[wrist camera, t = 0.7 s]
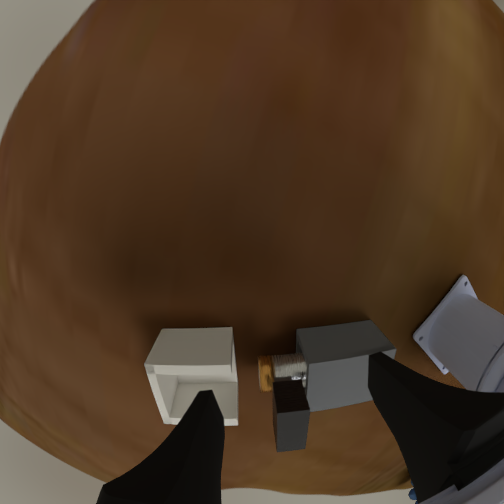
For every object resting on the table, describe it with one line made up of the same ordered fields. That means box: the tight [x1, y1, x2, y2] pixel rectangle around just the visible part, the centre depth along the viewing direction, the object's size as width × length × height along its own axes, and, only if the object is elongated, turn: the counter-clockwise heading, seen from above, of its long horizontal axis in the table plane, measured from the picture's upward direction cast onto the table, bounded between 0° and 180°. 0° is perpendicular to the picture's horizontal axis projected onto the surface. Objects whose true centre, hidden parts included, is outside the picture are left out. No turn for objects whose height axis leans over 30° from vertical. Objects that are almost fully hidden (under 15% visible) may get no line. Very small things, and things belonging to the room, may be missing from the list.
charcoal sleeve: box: [296, 320, 396, 412], centre depth 20 cm, size 6×5×5 cm
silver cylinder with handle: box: [258, 353, 310, 452], centre depth 17 cm, size 9×4×8 cm, turn 93°
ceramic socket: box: [144, 327, 238, 426], centre depth 19 cm, size 6×6×5 cm
